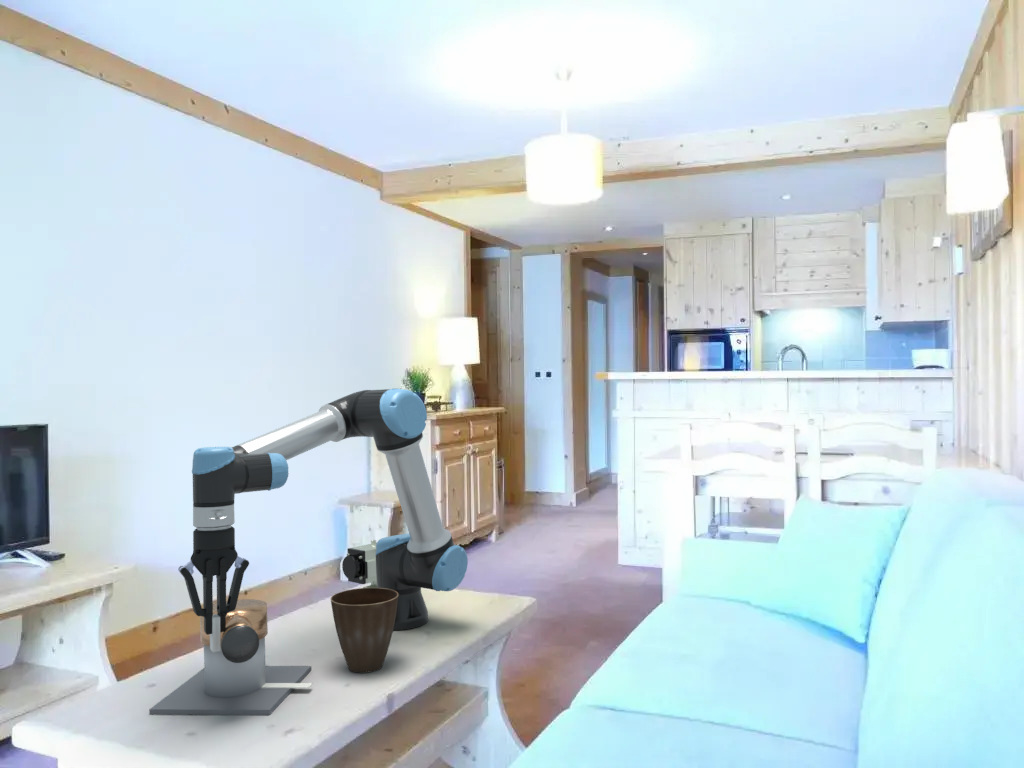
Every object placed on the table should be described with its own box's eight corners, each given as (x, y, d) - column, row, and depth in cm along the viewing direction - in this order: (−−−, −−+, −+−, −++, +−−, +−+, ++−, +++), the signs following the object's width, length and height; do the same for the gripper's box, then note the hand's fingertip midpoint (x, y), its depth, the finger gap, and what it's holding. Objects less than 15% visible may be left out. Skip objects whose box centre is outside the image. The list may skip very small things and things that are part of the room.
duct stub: (328, 670, 174) (327, 620, 174) (290, 715, 150) (288, 657, 150) (206, 670, 176) (205, 621, 176) (149, 714, 152) (148, 657, 152)
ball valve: (360, 609, 222) (358, 547, 222) (342, 604, 228) (341, 543, 228) (408, 596, 236) (407, 537, 236) (390, 592, 241) (389, 534, 242)
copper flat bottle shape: (199, 634, 166) (198, 602, 167) (264, 625, 172) (263, 594, 172) (203, 668, 145) (202, 631, 145) (277, 657, 151) (276, 621, 151)
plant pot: (397, 653, 184) (396, 585, 184) (402, 675, 169) (400, 601, 170) (332, 659, 181) (331, 590, 181) (332, 682, 166) (330, 607, 166)
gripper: (182, 533, 145) (183, 661, 144) (253, 526, 152) (254, 648, 151) (174, 528, 151) (175, 651, 150) (243, 521, 158) (244, 638, 157)
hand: (215, 649), depth 151 cm, fingers closed
